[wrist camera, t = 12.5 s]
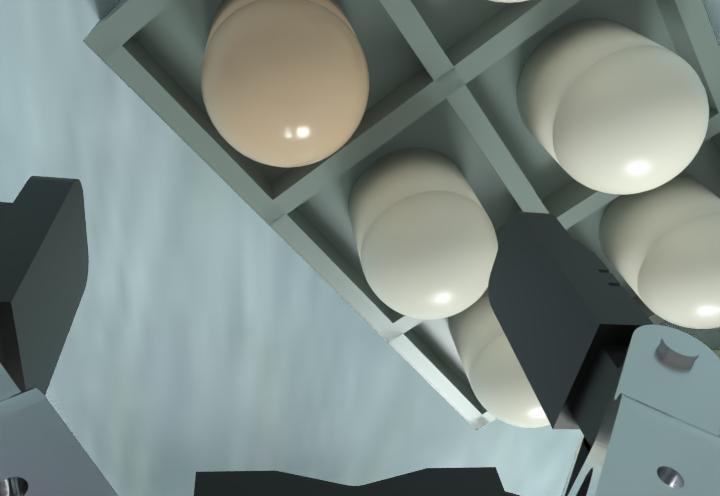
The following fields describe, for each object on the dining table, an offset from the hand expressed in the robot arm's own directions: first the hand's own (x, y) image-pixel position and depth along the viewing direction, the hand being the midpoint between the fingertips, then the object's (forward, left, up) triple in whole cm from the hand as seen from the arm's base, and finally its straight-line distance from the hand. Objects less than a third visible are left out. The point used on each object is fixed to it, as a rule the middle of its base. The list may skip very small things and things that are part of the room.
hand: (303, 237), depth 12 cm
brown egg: (0, 0, -12) cm, 12 cm away
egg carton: (-8, -4, -13) cm, 16 cm away
